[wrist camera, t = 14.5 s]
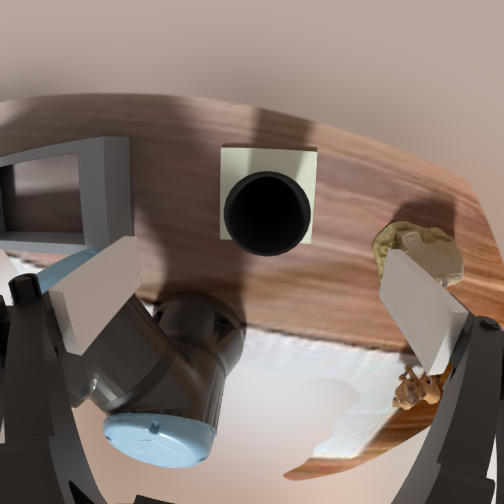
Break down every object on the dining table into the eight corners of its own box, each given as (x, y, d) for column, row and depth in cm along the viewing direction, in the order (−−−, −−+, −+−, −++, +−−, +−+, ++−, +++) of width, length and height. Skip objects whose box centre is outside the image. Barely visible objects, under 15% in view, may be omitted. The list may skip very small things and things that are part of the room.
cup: (270, 236, 38) (270, 272, 27) (225, 198, 37) (206, 219, 26) (310, 193, 36) (329, 212, 25) (265, 152, 35) (263, 152, 24)
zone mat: (309, 242, 39) (310, 243, 38) (220, 237, 40) (219, 239, 39) (316, 152, 35) (317, 152, 34) (221, 147, 36) (221, 147, 35)
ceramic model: (370, 295, 41) (393, 332, 32) (370, 222, 38) (399, 245, 28) (446, 281, 40) (478, 311, 30) (451, 214, 36) (490, 233, 27)
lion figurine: (379, 382, 47) (392, 416, 39) (393, 361, 45) (409, 395, 37) (432, 387, 48) (447, 416, 39) (446, 368, 46) (464, 397, 37)
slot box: (133, 240, 41) (111, 257, 34) (4, 235, 42) (-20, 247, 35) (129, 137, 36) (104, 136, 29) (-4, 161, 37) (-29, 166, 30)
